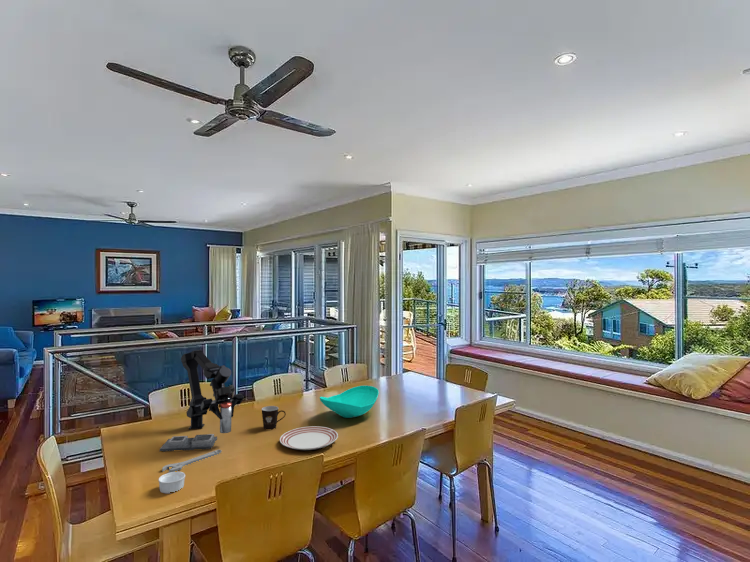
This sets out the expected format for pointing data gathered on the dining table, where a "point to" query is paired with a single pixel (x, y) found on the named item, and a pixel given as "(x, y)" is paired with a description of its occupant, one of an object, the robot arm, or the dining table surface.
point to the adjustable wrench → (189, 461)
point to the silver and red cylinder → (225, 417)
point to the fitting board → (189, 442)
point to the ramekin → (171, 482)
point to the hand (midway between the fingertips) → (226, 417)
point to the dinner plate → (309, 438)
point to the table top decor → (352, 401)
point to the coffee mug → (270, 416)
